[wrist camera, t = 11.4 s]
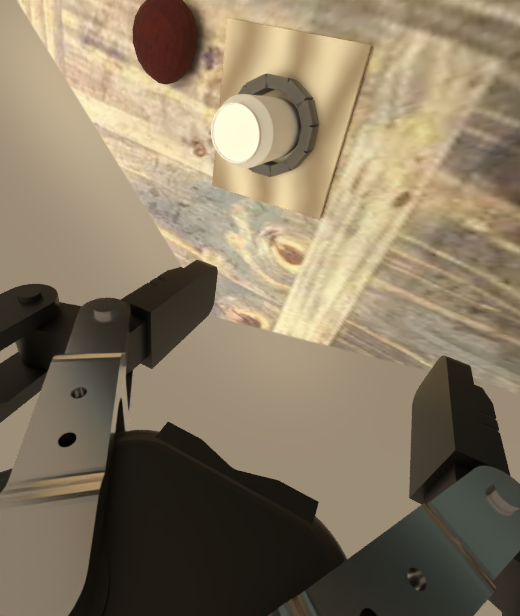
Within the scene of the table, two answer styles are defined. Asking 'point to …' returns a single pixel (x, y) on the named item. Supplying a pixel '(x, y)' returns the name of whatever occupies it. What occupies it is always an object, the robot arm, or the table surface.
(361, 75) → the ring board
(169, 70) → the potato
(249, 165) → the beverage can
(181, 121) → the table surface
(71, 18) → the table surface
